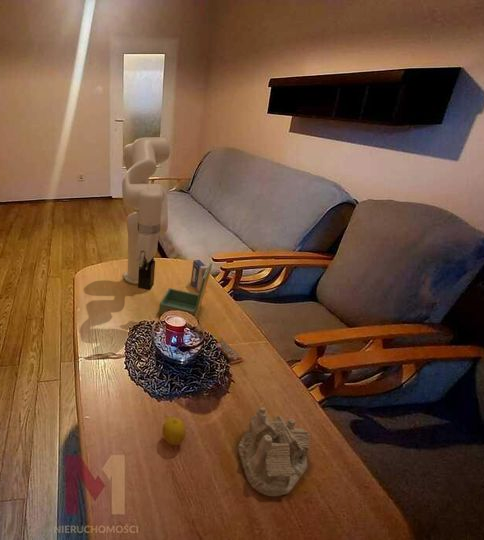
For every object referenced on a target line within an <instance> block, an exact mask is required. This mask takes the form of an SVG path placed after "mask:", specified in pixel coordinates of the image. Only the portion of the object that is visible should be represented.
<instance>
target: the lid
mask: <svg viewBox="0 0 484 540" xmlns="http://www.w3.org/2000/svg"><path fill="white" fill-rule="evenodd" d="M212 266H213V263H212V262H209V264H208V266H207V267H208V268H207V270H206V272H205V275H204V277H203V280H202V284H201V288H200V291H198V299H197V303H196V307H195V311H197V310H198V308H199V306H200V303H201V301H202V302H203V299H204V296H205V292H206V289H207V285H208V282H209V279H210V274H211V270H212Z"/></svg>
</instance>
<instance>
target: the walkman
mask: <svg viewBox="0 0 484 540" xmlns="http://www.w3.org/2000/svg"><path fill="white" fill-rule="evenodd" d="M207 268H208V266H207V265H206V264H205V263H203V261H201V260H200V259H195V260H194V259H193V263H192V271H191V279H190V285H192V287H194V288H196V289H197V291H198V292H200V288H201V284H202V280H203V277H204V275H205V272H206V270H207Z"/></svg>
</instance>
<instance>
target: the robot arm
mask: <svg viewBox="0 0 484 540" xmlns="http://www.w3.org/2000/svg"><path fill="white" fill-rule="evenodd" d="M122 151H123V152H122V153H123V154H122V156H123V163H124V166H125V170H126V172H125V174H124V175H123V178H122V181H121V189H122V190H121V191H122V201H123V203H124V205H126V206H127V207H130V208H131V209H133V210H137V211H136V212H131V213H130V214H128V215H127V217H126V230H127V268H126V269H127V271H126V272H125V273H124V274H123V279H124V281H126V282H127V283H130V284H133V285H138V277H140V278H143V279H148V278H149V269H148V265H149V262H150V261H151V260H154V261H155V256H156V254H157V253H158V245H159V244H158V243H159V235H164V234H165V233H166V232H167V231H168V227H169V215H168V213H169V211H168V210H169V209H168V194H167V191H166V189H165V188H164V187H163V185H161V184H160V183H150V178H151V177H152V176H153V175H155V173H156V171H157V166H158V165H159V164H163V163H165V162H166V161H167V160H168V159H169V158H170V154H171V145H170V142H169V140H168V139H167V138H166V137H162V136H157V137H152V136H151V137H139V138H136V139H135V141H133V143H128V144H126V145H125V146H124V147H123V150H122ZM144 259H146V260H144ZM144 262H145V263H146V265H145V264H144ZM139 266H140V275H139Z"/></svg>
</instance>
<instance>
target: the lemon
mask: <svg viewBox="0 0 484 540" xmlns="http://www.w3.org/2000/svg"><path fill="white" fill-rule="evenodd" d="M162 436H163V439H164V440H165V442H166V443H167V444H169V445H172V446H178V445H180V444H182V443H183V441H184V440H185V438H186V426H185V424H184V422H183V420H182V419H180V418H178V417H175V416H171V417H169V418H167V419H166V420H165V421H164V423H163V425H162Z"/></svg>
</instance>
